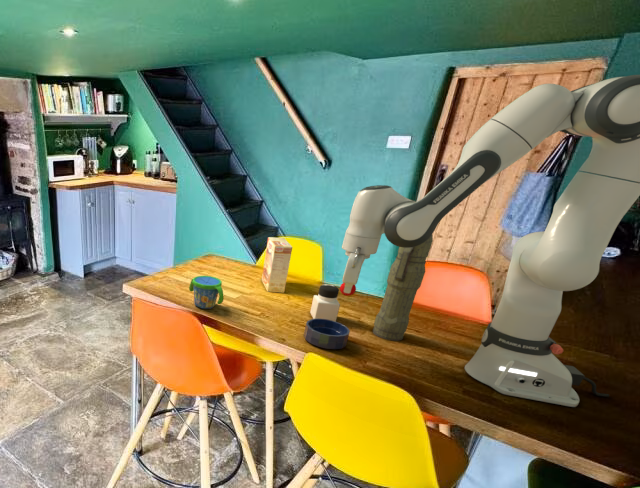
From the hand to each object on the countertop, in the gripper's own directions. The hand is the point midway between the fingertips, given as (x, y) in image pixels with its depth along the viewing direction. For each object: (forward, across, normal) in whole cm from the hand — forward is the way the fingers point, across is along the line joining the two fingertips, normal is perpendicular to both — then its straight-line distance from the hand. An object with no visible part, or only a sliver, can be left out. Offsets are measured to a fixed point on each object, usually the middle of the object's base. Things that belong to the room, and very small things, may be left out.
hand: (347, 289), depth 119 cm
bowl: (+18, -1, +2) cm, 18 cm away
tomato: (+2, 0, 0) cm, 2 cm away
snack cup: (+19, +4, +45) cm, 49 cm away
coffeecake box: (+18, +41, +29) cm, 53 cm away
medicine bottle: (+18, +18, +6) cm, 26 cm away
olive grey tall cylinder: (+18, +16, -14) cm, 28 cm away
